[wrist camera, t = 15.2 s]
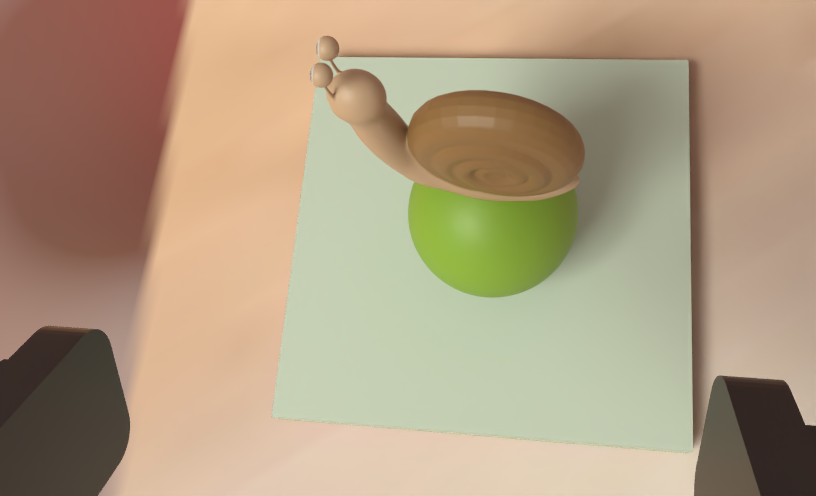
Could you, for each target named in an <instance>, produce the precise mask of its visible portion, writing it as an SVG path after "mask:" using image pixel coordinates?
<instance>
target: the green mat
mask: <svg viewBox="0 0 816 496" xmlns="http://www.w3.org/2000/svg"><path fill="white" fill-rule="evenodd" d="M333 62H334V64H335V65H336V67H337V68H338V69H339V70H340V71H345V70H348V69H362V70H365V71H368V72H370V73H372V74H373V75H375V76H376V77H377V78H378V79H379V80H380V81H381V83H382V84H383V86H384V88H385V91H386V96H387V101H386V102H387V103H388V104H389V105H390V106H391V107H392V108H393V109H394V110H395V111H396V112H397V113H398V114H399V115H400V117H401V118H402V119H403V120H404V122H405V123H406V124H407V125H408V127H409V123H410V121H411V118H412V116H413V114H414V113H415V112H416V111H417V110H418V109H419V108H420V107H421V106H422V105H423V104H424V103H425V102H427V101H428V100H430V99H432V98H434V97H436V96H439V95H443V94H447V93H451V92H456V91H465V90H488V91H497V92H504V93H509V94H514V95H518V96H522V97H525V98H528V99H531V100H534V101H537V102H539V103H541V104H544V105H546V106H548V107H550V108H551V109H553V110H555V111H557V112H558V113H560V114H561V115H563V116H564V117H565V118H566V119H568V120H569V121H570V122H571V123H572V124H573V125H574V127H575V128H576V129H577V131H578V132H579V134H580V136H581V138H582V140H583V143H584V147H585V160H584V164H583V167H582V169H581V171H580V172H579V174H578V175H577V176H578V177H579V179H580V182H579V184H578V185H577V186H576V187H575V192H576V196H577V202H578V223H577V229H576V234H575V237H574V240H573V243H572V245H571V248H570V250H569V252H568V254H567V255H566V257H565V259H564V260H563V262H562V263H561V264H560V266H559V267H558V268H557V269H556V270H555V271H554V272H553V273H552V274H551V275H550V276H549V277H548V278H547V279H545V280H544V281H543V282H541V283H540V284H538V285H537V286H535V287H533V288H531V289H529V290H527V291H524V292H522V293H519V294H515V295H511V296H506V297H497V298H488V297H479V296H474V295H470V294H467V293H464V292H461V291H459V290H456V289H454V288H452V287H451V286H449V285H447V284H446V283H444V282H443V281H441V280H440V279H439V278H438V277H437V276H435V275H434V274H433V273H432V272H431V271H430V269H429V268H428V267H427V266H426V265H425V263H424V262H423V261H422V259H421V257H420V256H419V254H418V252H417V250H416V248H415V246H414V243H413V240H412V237H411V234H410V229H409V222H408V205H409V198H410V193H411V189H412V186H413V184H414V181H412V180H410V179H408V178H406V177H405V176H403V175H402V174H400V173H399V172H397V171H395V170H394V169H392V168H391V167H389V166H388V165H387V164H385V163H384V162H383V161H382V160H380V159H379V158H378V157H377V156H376V155H375V154H373V153H372V152H371V151H370V150H369V149H368V148H367V147H366V145H365V144H364V143H363V142H362V141H361V140H360V138H359V137H358V136H357V134H356V133H355V131H354V130H353V128H352V126H351V125H350V124H349V123H347V122H345V121H343V120H342V119H340V118H339V117H337V116H336V115H335V114H334V113H333V111H332V109H331V107H330V105H329V102H328V100H327V96H326V90H325V89H324V88H319V87H315V95H314V102H313V110H312V117H311V125H310V132H309V140H308V147H307V155H306V162H305V170H304V177H303V185H302V192H301V200H300V207H299V215H298V222H297V230H296V237H295V245H294V252H293V260H292V267H291V275H290V282H289V290H288V297H287V305H286V312H285V320H284V327H283V335H282V342H281V350H280V357H279V365H278V372H277V380H276V387H275V395H274V402H273V410H272V417H274V418H278V419H286V420H298V421H310V422H322V423H334V424H346V425H358V426H370V427H382V428H394V429H406V430H417V431H429V432H441V433H453V434H465V435H477V436H489V437H501V438H513V439H525V440H537V441H549V442H560V443H572V444H584V445H596V446H608V447H620V448H632V449H644V450H656V451H668V452H680V453H691V452H693V400H692V313H691V227H690V140H689V60H631V59H516V58H400V57H336V58H335V59H333ZM319 63H325V64H327V65H329V66H330V67H331V69H332V71H333V77H334V76H336V75H337V72H336V71H335V70H334V68H333V67H332V65H331V63H330V61H324V60H322V59H320V58H319ZM327 87H328V86H327Z"/></svg>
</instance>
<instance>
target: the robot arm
mask: <svg viewBox="0 0 816 496" xmlns="http://www.w3.org/2000/svg"><path fill="white" fill-rule="evenodd" d="M129 433H130V418H129V413H128V409H127V405H126V401H125V398H124V394H123V390H122V386H121V382H120V378H119V375H118V371H117V367H116V363H115V359H114V355H113V351H112V347H111V344H110V341H109V339H108V337H107V335H106V334H105V333H104V332H103V331H101V330H98V329H85V328H72V327H58V326H45V327H42V328H40V329H39V330H38V331H36V332H35V333H34V334H33V335H32V336H31V337H30V338H29V339H28V340H27V341H26V342H25V343H24V344H23V345H22V346H21V347H20V348H19V349H18V350H17V351H16V352H15V353H14V354H13V355H12V356H11V357H10V358H9V359H8V360H6V359H4V360H2V361H0V496H98V494H99V493H100V492H101V490H102V488H103V487H104V486H105V484H106V483H107V481H108V480H109V478H110V477H111V475H112V474H113V472H114V471H115V469H116V468H117V466H118V465H119V463H120V461H121V460H122V458H123V456H124V453H125V451H126V448H127V444H128V440H129ZM694 496H816V426H811V425H805V423H804V421H803V418H802V416H801V414H800V411H799V409H798V407H797V404H796V402H795V400H794V397H793V395H792V392H791V390H790V388H789V386H788V384H787V383H786V382H785V381H783V380H773V379H759V378H745V377H731V376H717V377H716V379H715V381H714V383H713V386H712V390H711V395H710V400H709V405H708V410H707V415H706V420H705V425H704V430H703V435H702V440H701V446H700V451H699V456H698V461H697V466H696V472H695V484H694Z"/></svg>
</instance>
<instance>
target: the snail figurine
mask: <svg viewBox="0 0 816 496" xmlns="http://www.w3.org/2000/svg"><path fill="white" fill-rule="evenodd" d="M316 51H317V55H318V57H319V58H320V59H322V60H324V61H330V63H331V65H332V67H333V68H334V70H335V71H336V72H337V75H336V76H334V77H333V71H332V69H331V67H330V66H329V65H327V64H325V63H317V64H315V65H314V66H313V67H312V69H311V73H310V79H311V82H312V84H313V85H314V86H316V87H319V88H324V89H325V90H326V96H327V100H328V102H329V105H330V107H331V109H332V111H333V113H334V114H335V115H336V116H337V117H339V118H340V119H342V120H343V121H345V122H347V123H349V124H350V125H351V126H352V128H353V130H354V131H355V133H356V134H357V136H358V137H359V138H360V140H361V141H362V142H363V143H364V144H365V145H366V147H367V148H368V149H369V150H370V151H371V152H372V153H373V154H375V155H376V156H377V157H378V158H379V159H380V160H382V161H383V162H384V163H385V164H387V165H388V166H389V167H391V168H392V169H394V170H395V171H397V172H399V173H400V174H402V175H403V176H405V177H406V178H408V179H410V180H412V181H414V184H413V186H412V189H411V193H410V198H409V205H408V222H409V229H410V234H411V237H412V240H413V243H414V246H415V248H416V250H417V252H418V254H419V256H420V257H421V259H422V261H423V262H424V263H425V265H426V266H427V267H428V268H429V269H430V271H431V272H432V273H433V274H434V275H435V276H437V277H438V278H439V279H440V280H441V281H443V282H444V283H446V284H447V285H449V286H451V287H452V288H454V289H456V290H459V291H461V292H464V293H467V294H470V295H474V296H479V297H488V298H497V297H506V296H511V295H515V294H519V293H522V292H524V291H527V290H529V289H531V288H533V287H535V286H537V285H538V284H540V283H541V282H543V281H544V280H545V279H547V278H548V277H549V276H550V275H551V274H552V273H553V272H554V271H555V270H556V269H557V268H558V267H559V266H560V264H561V263H562V262H563V260H564V259H565V257H566V255H567V254H568V252H569V250H570V248H571V245H572V243H573V240H574V237H575V234H576V229H577V223H578V202H577V196H576V192H575V187H576V186H577V185H578V184H579V182H580V179H579V177H578V176H577V175H578V174H579V172H580V171H581V169H582V167H583V164H584V160H585V147H584V143H583V140H582V138H581V136H580V134H579V132H578V131H577V129H576V128H575V127H574V125H573V124H572V123H571V122H570V121H569V120H568V119H566V118H565V117H564V116H563V115H561V114H560V113H558V112H557V111H555V110H553V109H551V108H550V107H548V106H546V105H544V104H541V103H539V102H537V101H534V100H531V99H528V98H525V97H522V96H518V95H514V94H509V93H504V92H497V91H488V90H465V91H456V92H451V93H447V94H443V95H439V96H436V97H434V98H432V99H430V100H428V101H427V102H425V103H424V104H423V105H422V106H421V107H420V108H419V109H418V110H417V111H416V112H415V113H414V114H413V116H412V118H411V121H410V123H409V127H408V125H407V124H406V123H405V122H404V120H403V119H402V118H401V117H400V115H399V114H398V113H397V112H396V111H395V110H394V109H393V108H392V107H391V106H390V105H389V104H388V103H387V102H386V101H387V96H386V91H385V88H384V86H383V84H382V83H381V81H380V80H379V79H378V78H377V77H376V76H375V75H373V74H372V73H370V72H368V71H365V70H362V69H348V70H345V71H340V70H339V69H338V68H337V67H336V65H335V64H334V62H333V59H335V58H336V57H337V55H338V53H339V45H338V42H337V41H336V40H335V39H334V38H333V37H330V36H323V37H322V38H320V39H319V41H318V43H317V47H316ZM327 86H328V87H327Z"/></svg>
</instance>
